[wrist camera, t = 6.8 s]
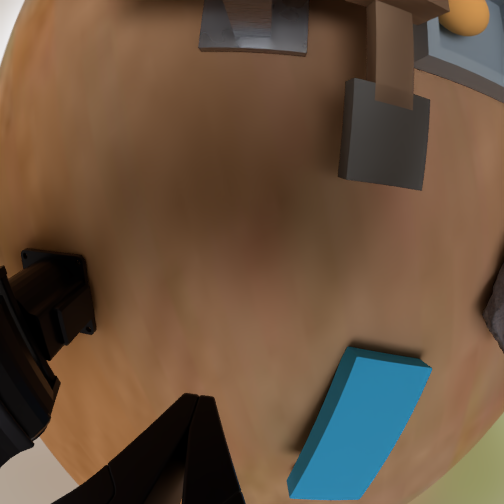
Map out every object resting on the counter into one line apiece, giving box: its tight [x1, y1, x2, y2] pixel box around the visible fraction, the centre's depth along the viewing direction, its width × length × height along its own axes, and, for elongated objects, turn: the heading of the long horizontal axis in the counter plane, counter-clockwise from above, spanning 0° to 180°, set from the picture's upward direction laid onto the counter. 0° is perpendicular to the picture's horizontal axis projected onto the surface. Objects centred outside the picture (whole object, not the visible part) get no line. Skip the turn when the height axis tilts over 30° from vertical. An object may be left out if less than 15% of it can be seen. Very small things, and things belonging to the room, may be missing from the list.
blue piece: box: [287, 347, 432, 500], centre depth 23 cm, size 7×7×18 cm
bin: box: [413, 0, 504, 103], centre depth 9 cm, size 9×9×8 cm
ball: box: [438, 0, 490, 36], centre depth 11 cm, size 4×4×4 cm
